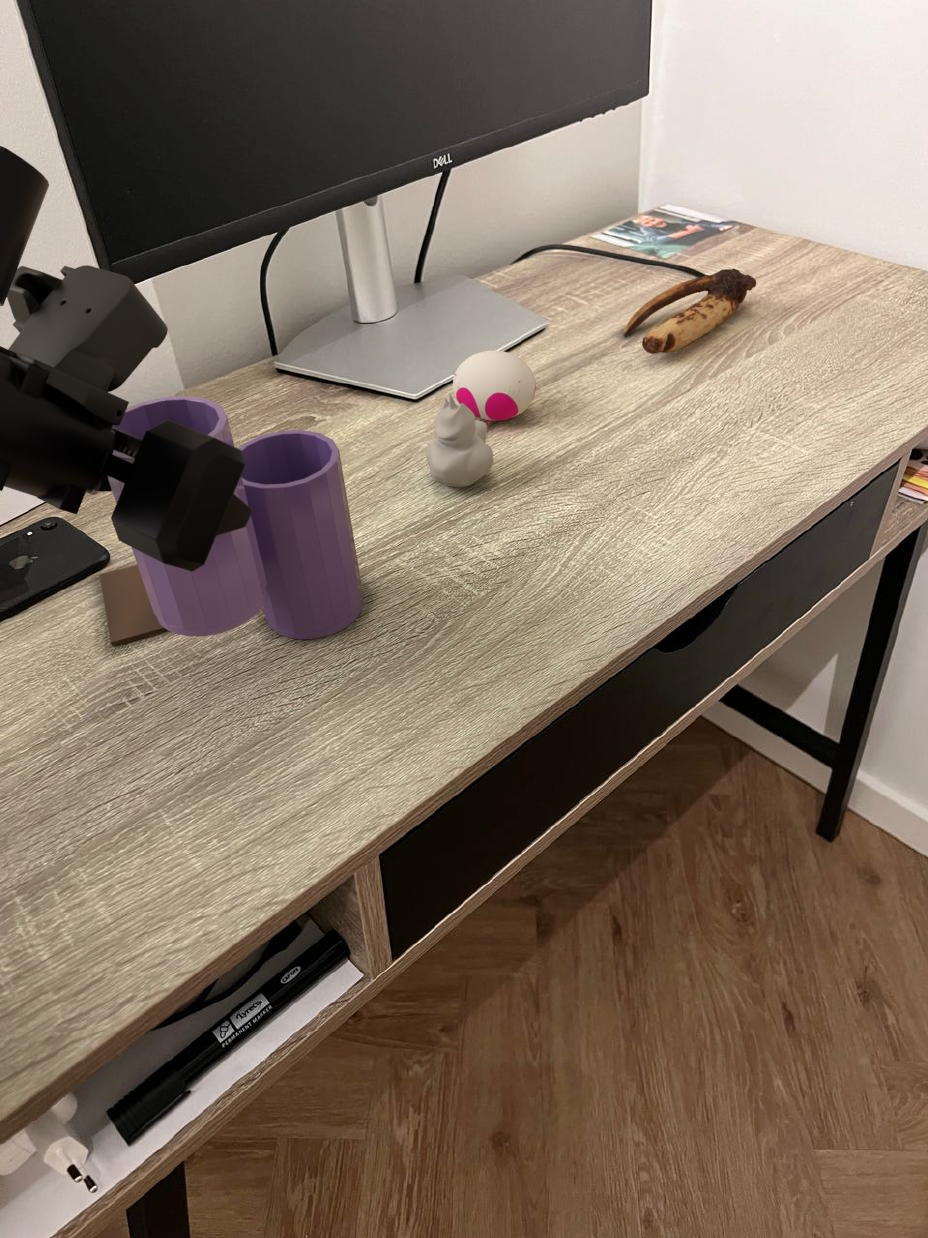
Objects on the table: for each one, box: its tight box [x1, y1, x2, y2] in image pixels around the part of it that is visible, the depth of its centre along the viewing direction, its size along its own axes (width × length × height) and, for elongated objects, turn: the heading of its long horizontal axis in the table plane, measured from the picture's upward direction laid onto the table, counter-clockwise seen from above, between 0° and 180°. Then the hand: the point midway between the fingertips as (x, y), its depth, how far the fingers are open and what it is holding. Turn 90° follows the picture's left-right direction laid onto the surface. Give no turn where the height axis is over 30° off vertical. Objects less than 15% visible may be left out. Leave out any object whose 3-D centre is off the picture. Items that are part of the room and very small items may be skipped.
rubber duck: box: [426, 393, 494, 488], centre depth 77 cm, size 5×7×8 cm
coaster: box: [98, 564, 170, 647], centre depth 70 cm, size 8×8×1 cm
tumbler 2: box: [237, 429, 364, 640], centre depth 64 cm, size 7×7×12 cm
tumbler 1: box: [107, 395, 268, 637], centre depth 56 cm, size 7×7×12 cm
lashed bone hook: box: [622, 268, 757, 355], centre depth 97 cm, size 9×5×18 cm
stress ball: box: [452, 350, 537, 426], centre depth 86 cm, size 8×8×7 cm
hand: (204, 498), depth 57 cm, fingers closed on tumbler 1, 7 cm apart
